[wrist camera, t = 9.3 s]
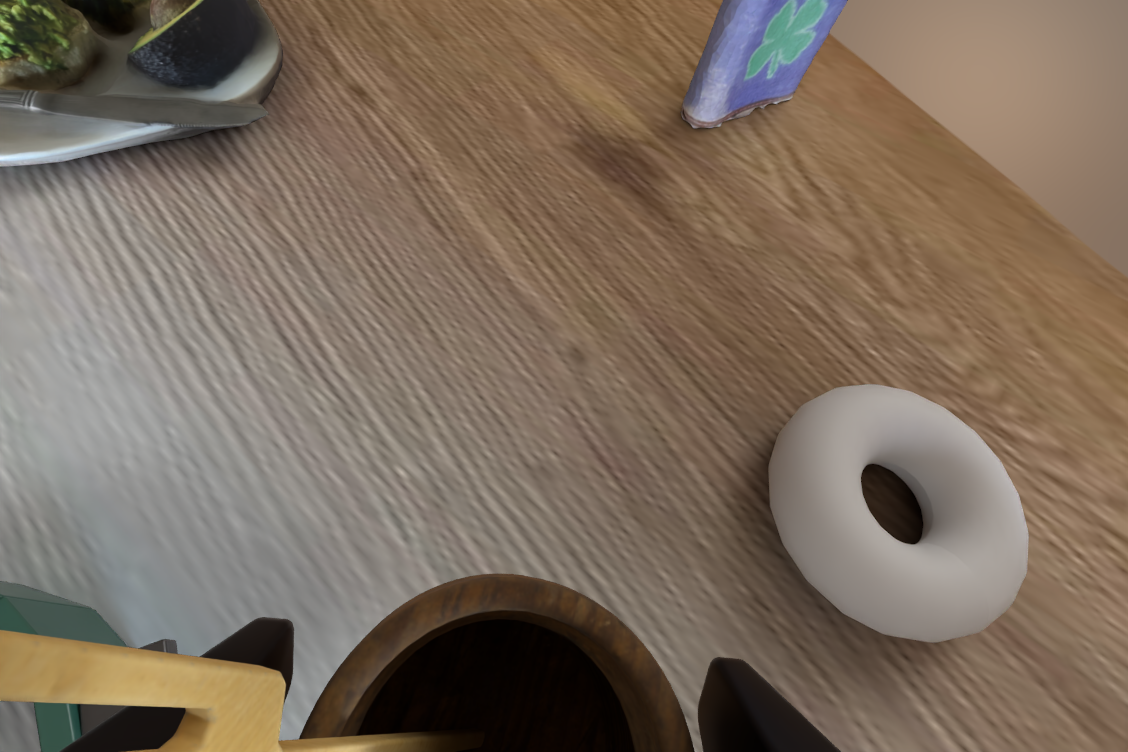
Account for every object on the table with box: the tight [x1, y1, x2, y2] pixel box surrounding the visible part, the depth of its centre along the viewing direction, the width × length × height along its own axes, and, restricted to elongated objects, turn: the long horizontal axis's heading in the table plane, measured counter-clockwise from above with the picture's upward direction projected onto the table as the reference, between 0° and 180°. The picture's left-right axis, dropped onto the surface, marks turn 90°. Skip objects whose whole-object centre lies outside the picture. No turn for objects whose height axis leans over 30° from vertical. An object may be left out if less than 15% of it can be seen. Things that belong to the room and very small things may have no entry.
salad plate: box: [0, 0, 283, 166], centre depth 26 cm, size 19×18×5 cm
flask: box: [681, 0, 848, 128], centre depth 30 cm, size 9×3×11 cm, turn 123°
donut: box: [768, 384, 1029, 643], centre depth 22 cm, size 10×4×10 cm
